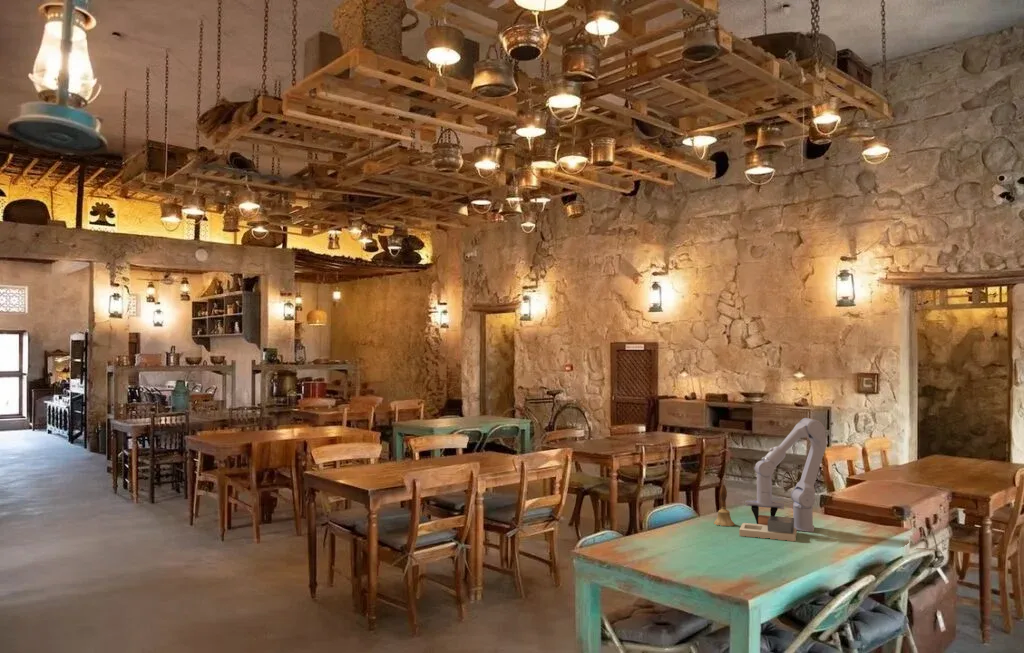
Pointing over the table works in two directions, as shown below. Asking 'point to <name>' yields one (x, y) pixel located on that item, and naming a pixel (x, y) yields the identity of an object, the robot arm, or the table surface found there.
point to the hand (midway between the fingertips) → (764, 525)
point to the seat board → (765, 532)
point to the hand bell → (724, 511)
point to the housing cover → (781, 524)
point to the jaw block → (763, 519)
